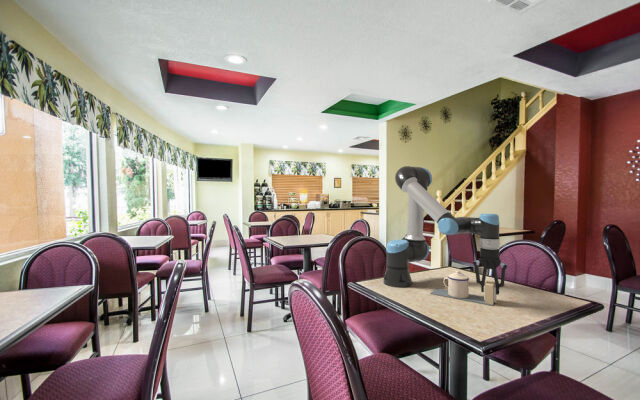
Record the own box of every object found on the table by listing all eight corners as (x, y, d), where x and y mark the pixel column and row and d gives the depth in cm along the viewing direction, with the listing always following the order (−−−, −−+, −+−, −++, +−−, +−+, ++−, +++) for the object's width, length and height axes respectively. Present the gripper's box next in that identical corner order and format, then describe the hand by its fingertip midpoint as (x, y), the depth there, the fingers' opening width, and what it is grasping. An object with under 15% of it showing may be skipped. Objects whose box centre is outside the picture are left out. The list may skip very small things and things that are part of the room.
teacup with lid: (473, 296, 132) (472, 271, 132) (462, 300, 127) (462, 274, 127) (449, 289, 142) (449, 266, 142) (438, 293, 137) (438, 269, 137)
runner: (430, 294, 137) (430, 276, 137) (436, 288, 145) (436, 272, 145) (492, 306, 121) (492, 286, 121) (495, 299, 129) (495, 281, 129)
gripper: (468, 247, 128) (468, 299, 128) (510, 251, 118) (511, 307, 118) (471, 245, 134) (471, 294, 134) (512, 248, 124) (512, 302, 124)
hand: (490, 300), depth 126 cm, fingers closed on runner, 3 cm apart
